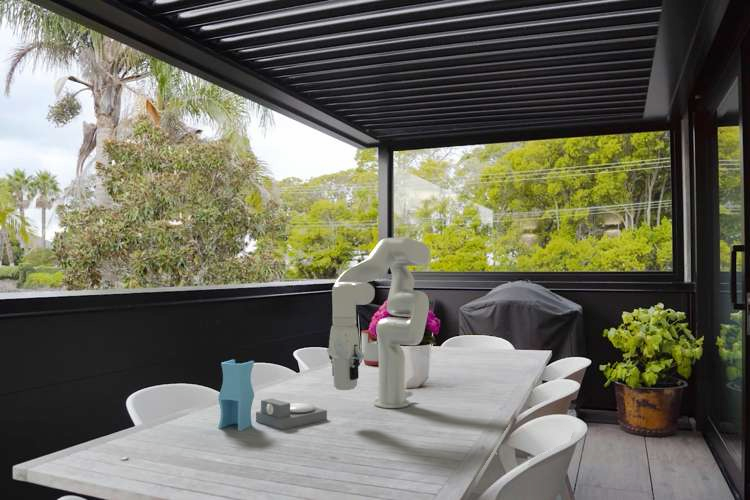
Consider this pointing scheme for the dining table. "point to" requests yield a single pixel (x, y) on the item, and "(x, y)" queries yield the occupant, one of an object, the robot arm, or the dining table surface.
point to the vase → (236, 394)
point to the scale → (288, 414)
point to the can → (342, 373)
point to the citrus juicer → (370, 348)
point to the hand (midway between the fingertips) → (345, 377)
